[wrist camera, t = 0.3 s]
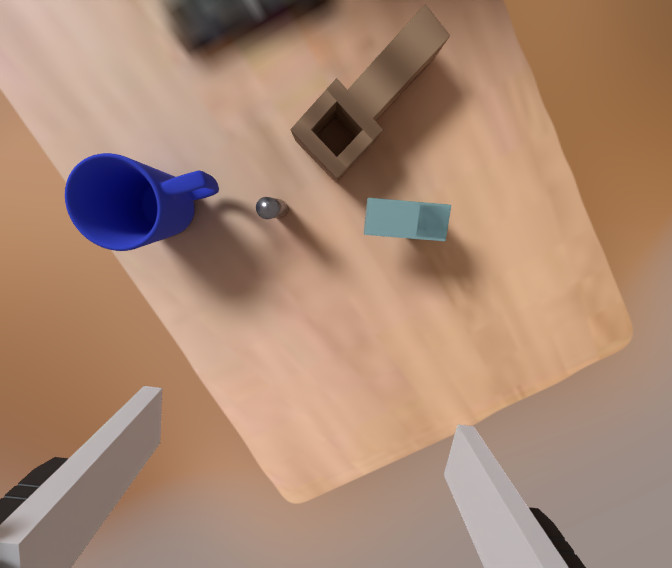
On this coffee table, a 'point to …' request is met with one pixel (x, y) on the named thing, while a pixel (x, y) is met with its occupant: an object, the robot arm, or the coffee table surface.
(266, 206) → the rod
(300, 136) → the link
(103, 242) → the mug
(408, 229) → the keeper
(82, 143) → the coffee table surface
